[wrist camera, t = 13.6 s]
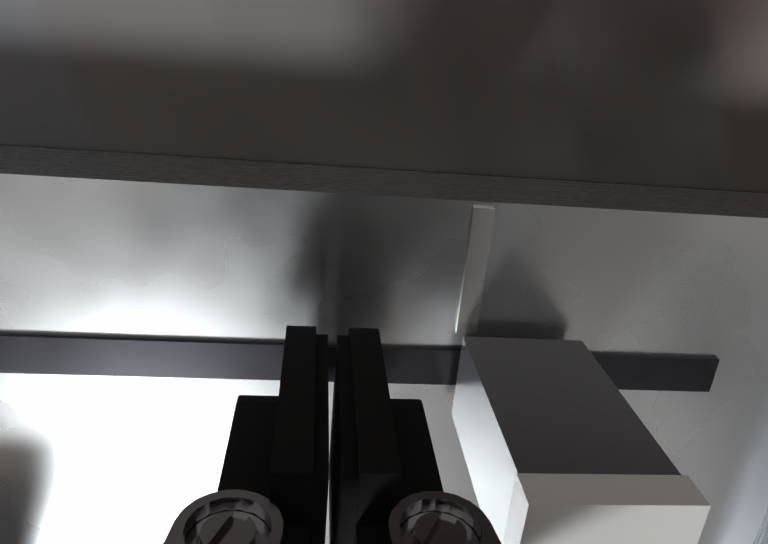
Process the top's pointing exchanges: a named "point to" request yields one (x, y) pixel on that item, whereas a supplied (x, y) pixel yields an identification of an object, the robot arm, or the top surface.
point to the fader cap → (564, 450)
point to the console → (349, 317)
